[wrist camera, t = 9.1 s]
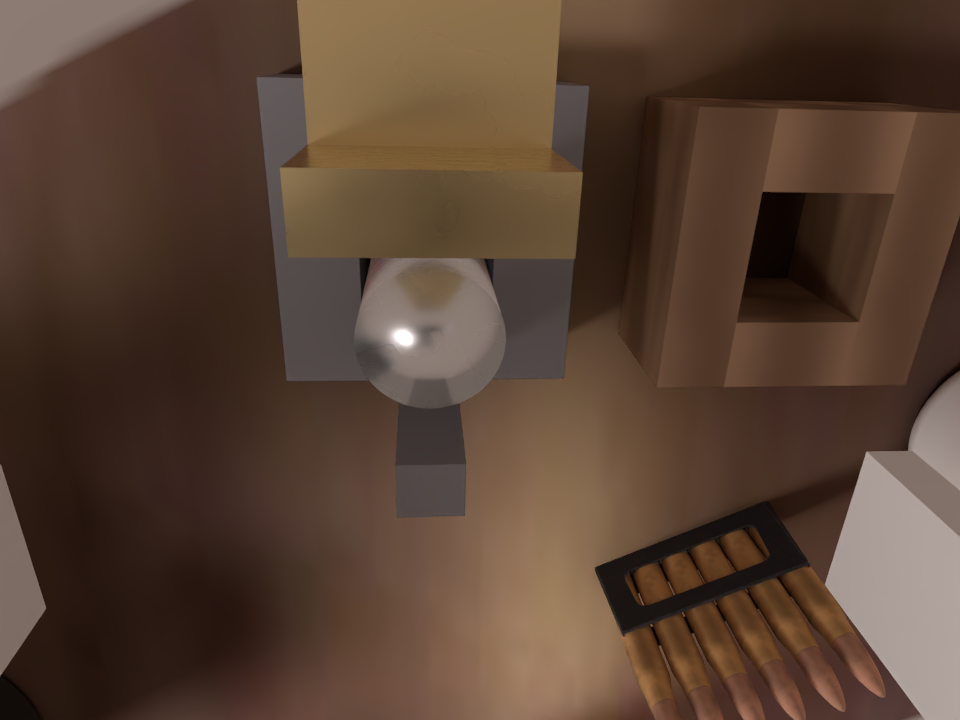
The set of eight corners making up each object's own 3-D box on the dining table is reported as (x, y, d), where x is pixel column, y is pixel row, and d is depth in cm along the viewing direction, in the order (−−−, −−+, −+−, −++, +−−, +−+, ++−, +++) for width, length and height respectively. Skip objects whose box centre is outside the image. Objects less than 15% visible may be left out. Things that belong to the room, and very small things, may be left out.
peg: (383, 264, 31) (357, 409, 19) (380, 175, 30) (350, 268, 17) (469, 264, 32) (502, 407, 19) (471, 177, 30) (509, 269, 17)
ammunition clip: (767, 500, 39) (902, 674, 28) (774, 523, 40) (908, 702, 29) (593, 567, 40) (659, 761, 29) (603, 589, 41) (671, 785, 30)
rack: (618, 333, 34) (656, 387, 28) (647, 96, 29) (699, 106, 24) (829, 332, 35) (905, 385, 29) (888, 102, 30) (992, 114, 25)
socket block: (301, 344, 33) (223, 536, 20) (277, 73, 28) (153, 92, 15) (548, 343, 34) (627, 524, 21) (567, 81, 29) (689, 106, 16)
